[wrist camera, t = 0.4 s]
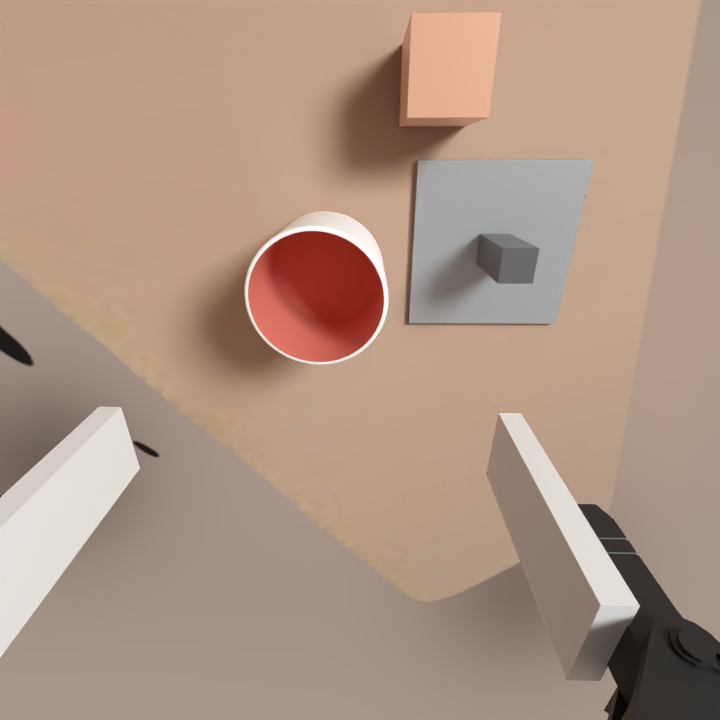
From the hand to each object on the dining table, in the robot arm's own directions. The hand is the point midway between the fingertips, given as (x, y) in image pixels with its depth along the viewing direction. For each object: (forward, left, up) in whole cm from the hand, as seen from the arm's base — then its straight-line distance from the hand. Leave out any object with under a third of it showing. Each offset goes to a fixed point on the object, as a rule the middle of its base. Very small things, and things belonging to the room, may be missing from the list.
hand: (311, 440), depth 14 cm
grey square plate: (-2, +13, -25) cm, 28 cm away
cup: (0, -1, -25) cm, 25 cm away
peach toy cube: (-14, +7, -25) cm, 29 cm away
